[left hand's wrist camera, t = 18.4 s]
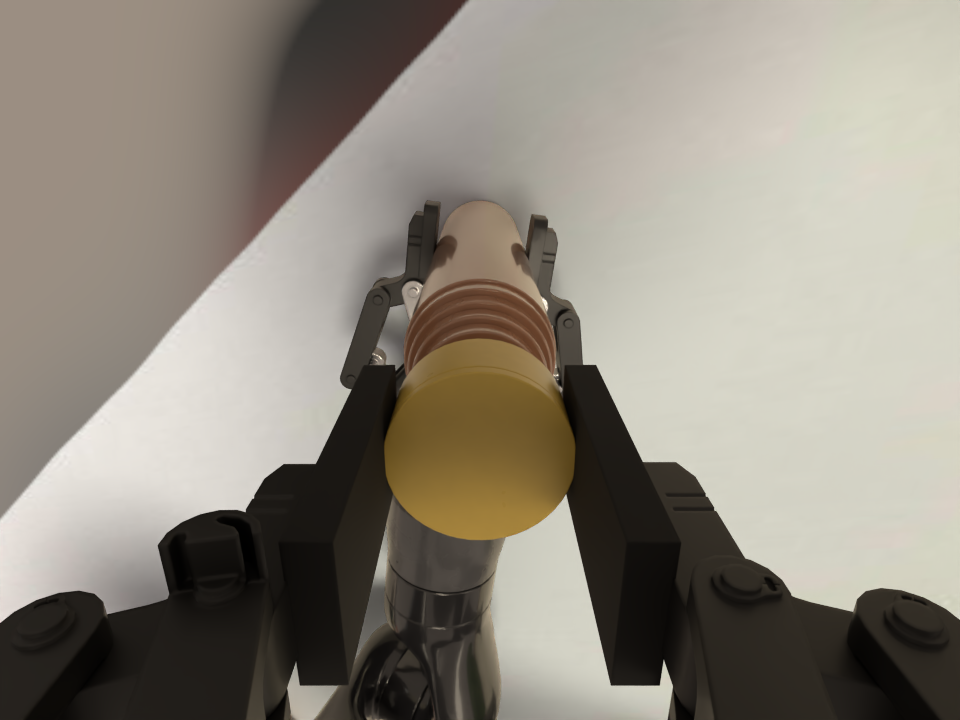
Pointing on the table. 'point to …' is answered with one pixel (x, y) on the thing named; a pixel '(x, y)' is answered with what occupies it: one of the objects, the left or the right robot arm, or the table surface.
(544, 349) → the bottle
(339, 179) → the table surface
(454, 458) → the cap
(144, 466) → the table surface
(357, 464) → the left robot arm
